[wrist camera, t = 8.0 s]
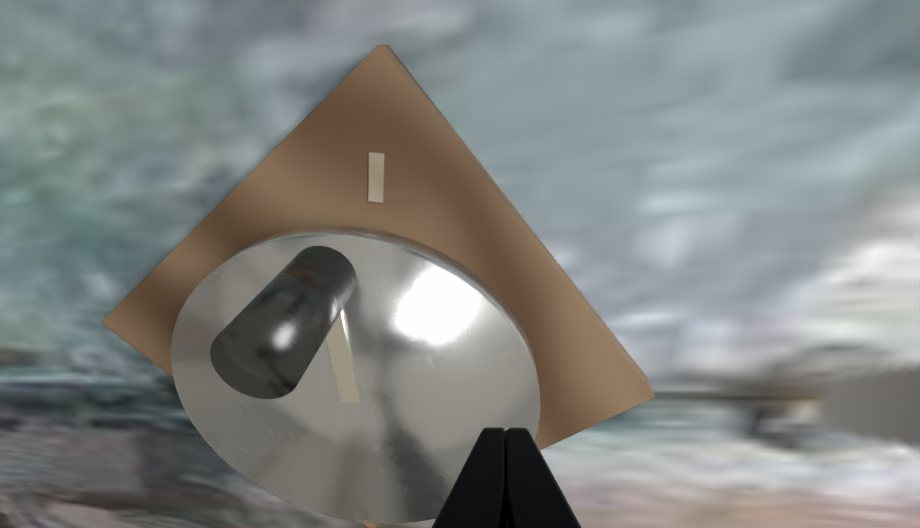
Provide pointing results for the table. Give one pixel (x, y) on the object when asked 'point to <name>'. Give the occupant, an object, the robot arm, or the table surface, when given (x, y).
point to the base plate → (409, 215)
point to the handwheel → (351, 370)
